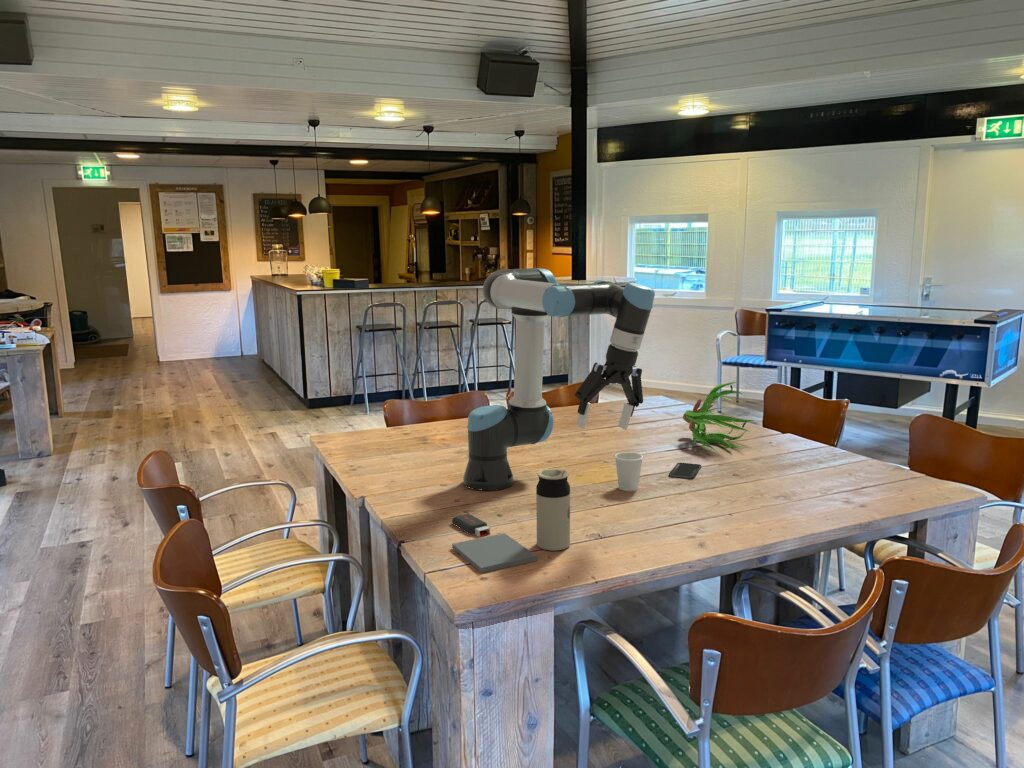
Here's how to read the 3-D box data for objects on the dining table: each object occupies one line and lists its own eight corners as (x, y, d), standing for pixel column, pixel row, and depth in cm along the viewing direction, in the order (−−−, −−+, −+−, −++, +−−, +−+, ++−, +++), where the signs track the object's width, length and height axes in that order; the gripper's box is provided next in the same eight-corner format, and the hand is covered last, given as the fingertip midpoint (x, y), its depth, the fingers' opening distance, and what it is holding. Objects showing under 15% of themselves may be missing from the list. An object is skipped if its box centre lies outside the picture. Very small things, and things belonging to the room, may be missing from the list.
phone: (668, 474, 235) (678, 462, 249) (668, 478, 235) (678, 465, 249) (693, 477, 232) (702, 464, 245) (693, 480, 232) (702, 467, 246)
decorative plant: (699, 446, 292) (765, 460, 268) (653, 443, 278) (718, 457, 253) (709, 379, 292) (775, 387, 267) (663, 372, 277) (729, 380, 253)
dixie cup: (621, 494, 219) (621, 460, 217) (609, 485, 227) (610, 453, 225) (647, 491, 221) (648, 458, 220) (635, 483, 229) (635, 451, 228)
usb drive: (469, 521, 200) (468, 511, 199) (493, 534, 190) (493, 524, 189) (451, 525, 197) (451, 515, 196) (475, 539, 187) (475, 528, 187)
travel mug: (532, 549, 179) (531, 476, 176) (542, 537, 187) (542, 467, 183) (564, 553, 176) (564, 479, 173) (573, 541, 184) (573, 469, 181)
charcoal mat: (452, 548, 180) (452, 543, 180) (504, 537, 187) (504, 533, 186) (481, 573, 166) (481, 567, 166) (536, 560, 173) (536, 555, 172)
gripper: (592, 347, 175) (570, 431, 181) (671, 355, 189) (647, 434, 194) (574, 338, 181) (553, 419, 187) (652, 346, 195) (630, 422, 200)
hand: (601, 427), depth 191 cm, fingers open, 13 cm apart
